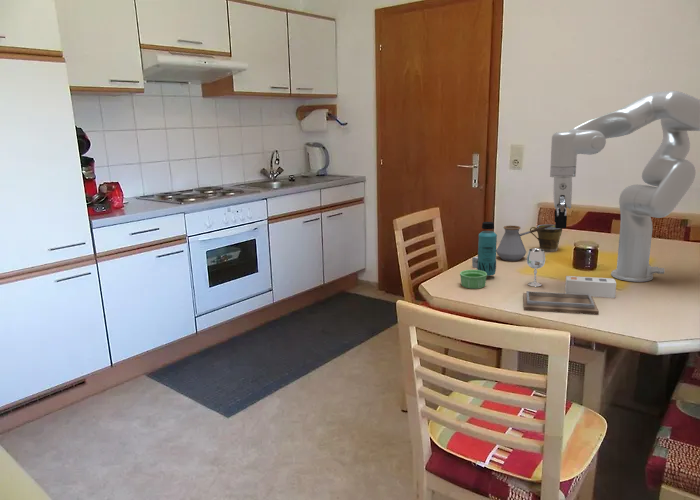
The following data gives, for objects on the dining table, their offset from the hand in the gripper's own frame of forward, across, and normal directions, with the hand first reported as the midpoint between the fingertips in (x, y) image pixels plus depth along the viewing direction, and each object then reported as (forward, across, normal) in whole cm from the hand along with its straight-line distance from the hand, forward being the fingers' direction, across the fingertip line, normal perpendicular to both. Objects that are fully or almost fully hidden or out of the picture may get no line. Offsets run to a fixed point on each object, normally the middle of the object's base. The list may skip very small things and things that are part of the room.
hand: (560, 225), depth 168 cm
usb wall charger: (+21, +19, +26) cm, 38 cm away
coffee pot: (+21, +32, +11) cm, 40 cm away
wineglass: (+21, 0, +7) cm, 22 cm away
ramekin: (+21, -5, +27) cm, 34 cm away
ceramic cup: (+21, +50, +3) cm, 55 cm away
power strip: (+21, -6, -9) cm, 24 cm away
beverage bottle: (+21, +5, +23) cm, 32 cm away
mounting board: (+21, -19, 0) cm, 28 cm away
